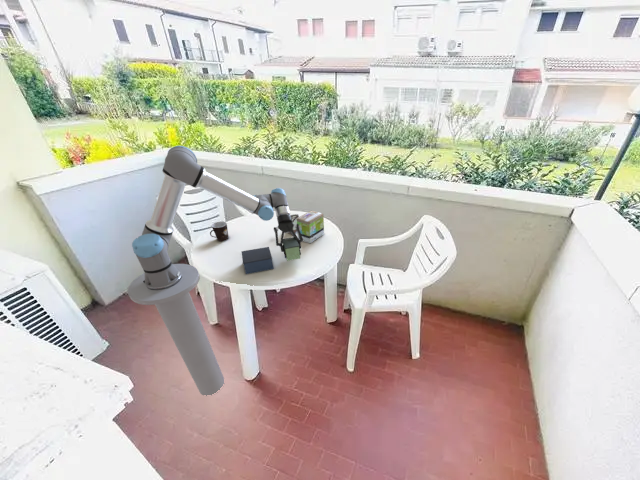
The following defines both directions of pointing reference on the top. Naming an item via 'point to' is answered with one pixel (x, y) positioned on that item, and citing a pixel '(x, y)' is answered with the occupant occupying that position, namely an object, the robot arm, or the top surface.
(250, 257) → the blue tub
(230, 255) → the top surface
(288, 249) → the green box
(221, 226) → the coffee mug
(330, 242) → the top surface
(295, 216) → the food container
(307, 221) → the tea box
